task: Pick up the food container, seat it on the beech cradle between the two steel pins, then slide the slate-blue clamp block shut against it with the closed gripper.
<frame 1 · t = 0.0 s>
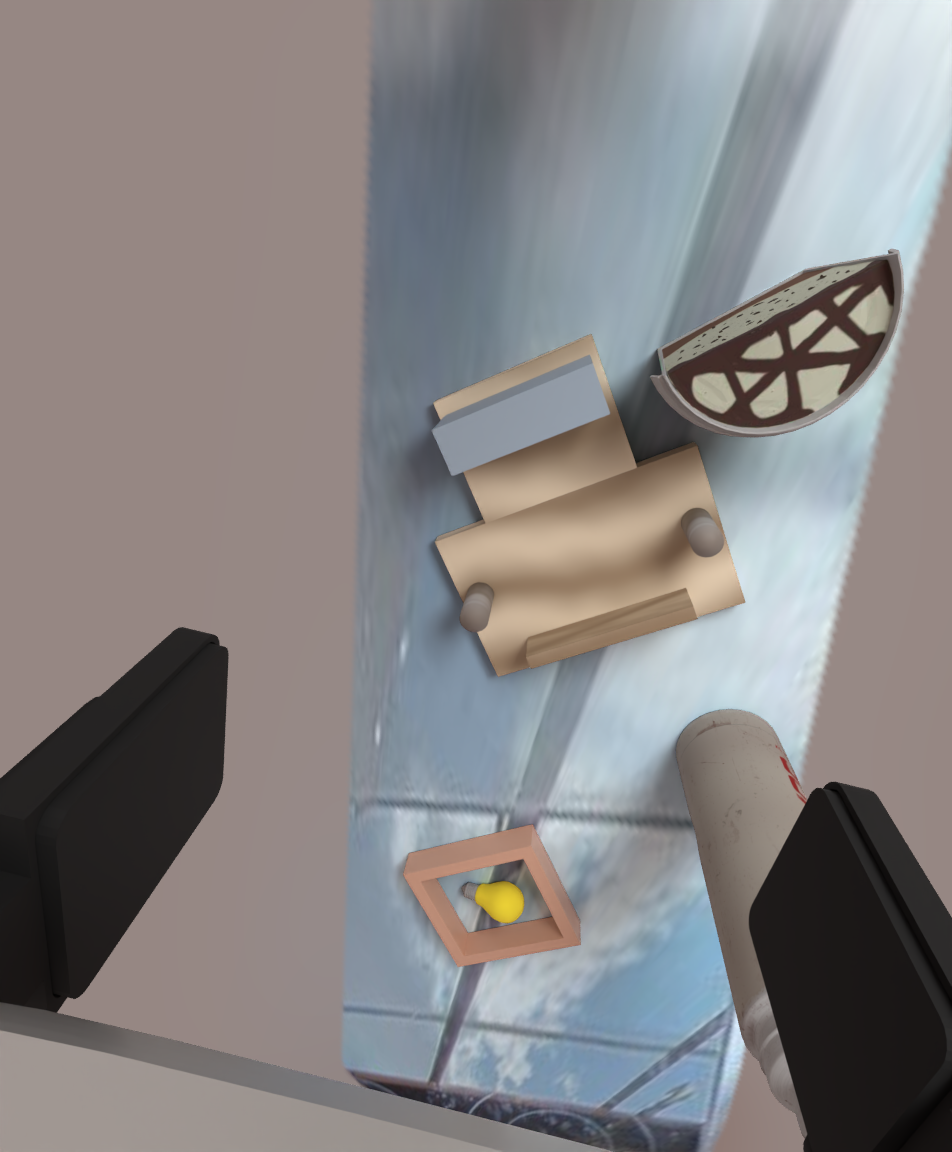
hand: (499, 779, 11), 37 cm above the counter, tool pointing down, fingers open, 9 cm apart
pink square frame: (495, 887, 63), on the counter
light bulb: (494, 884, 63), on the counter
clamp block: (521, 414, 41), point 4 cm above the counter, slide at 0.0 cm
cradle: (583, 553, 48), on the counter
thermos bottle: (726, 748, 54), on the counter
food container: (746, 355, 42), on the counter
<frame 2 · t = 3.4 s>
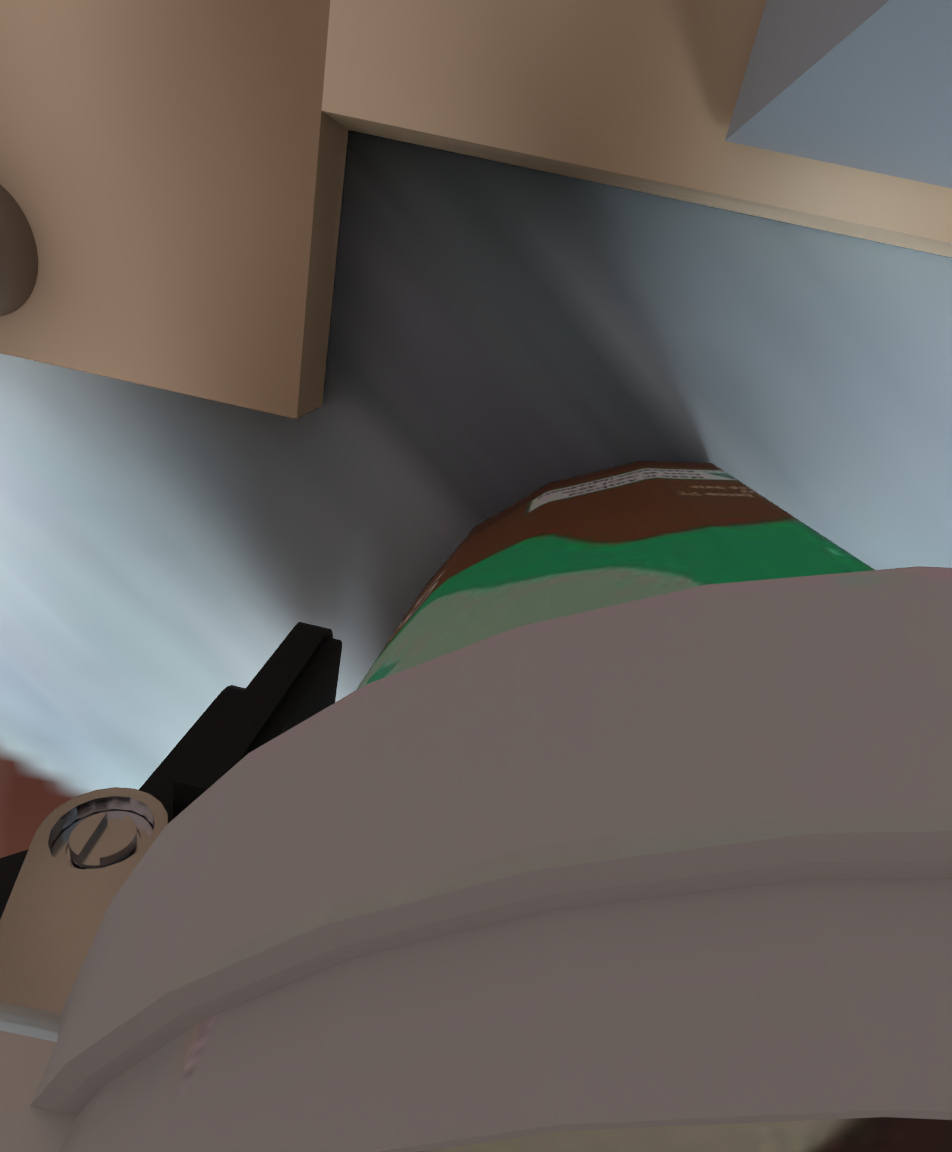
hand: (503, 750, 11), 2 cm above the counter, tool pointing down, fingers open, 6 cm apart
food container: (498, 671, 13), on the counter, touching gripper
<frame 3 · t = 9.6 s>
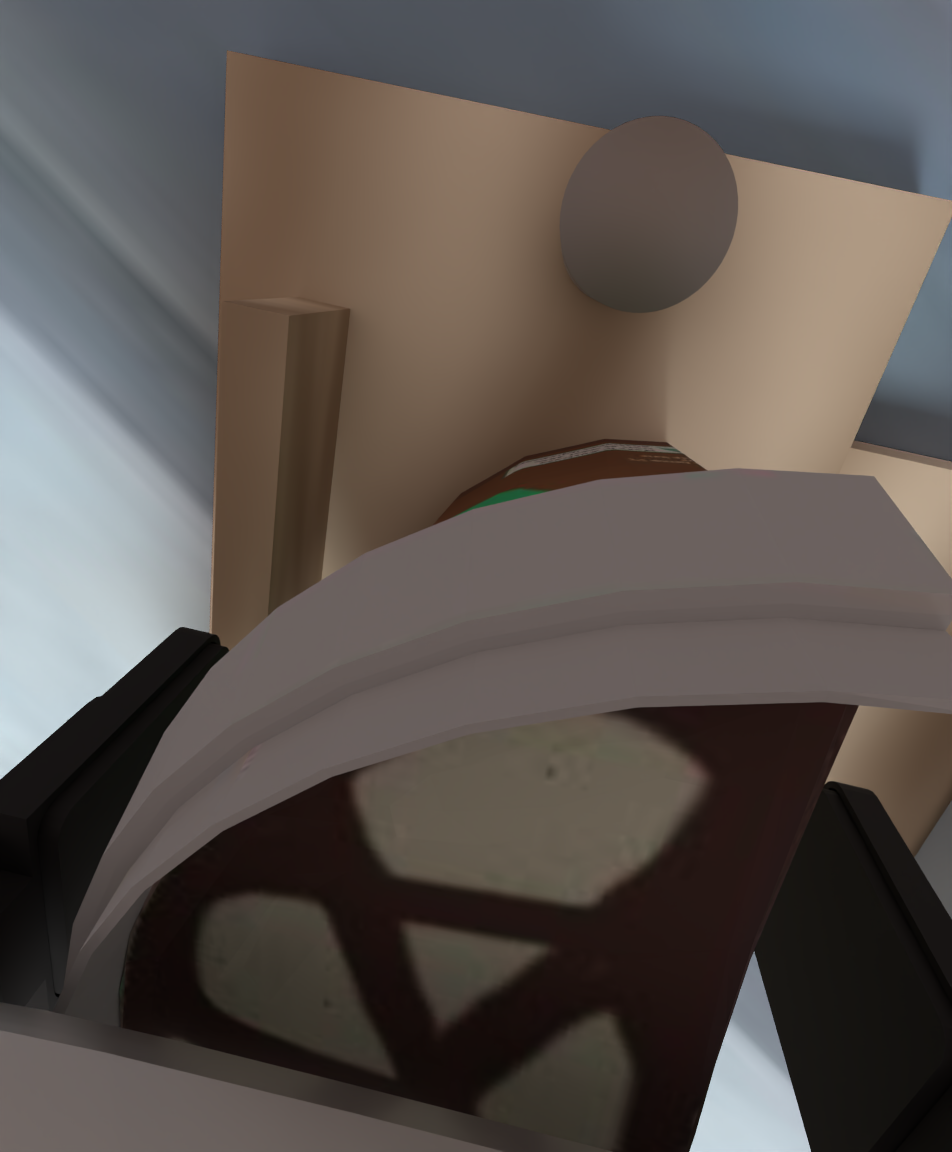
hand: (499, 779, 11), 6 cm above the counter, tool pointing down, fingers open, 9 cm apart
cradle: (521, 616, 16), on the counter
food container: (478, 627, 15), point 1 cm above the counter, touching cradle
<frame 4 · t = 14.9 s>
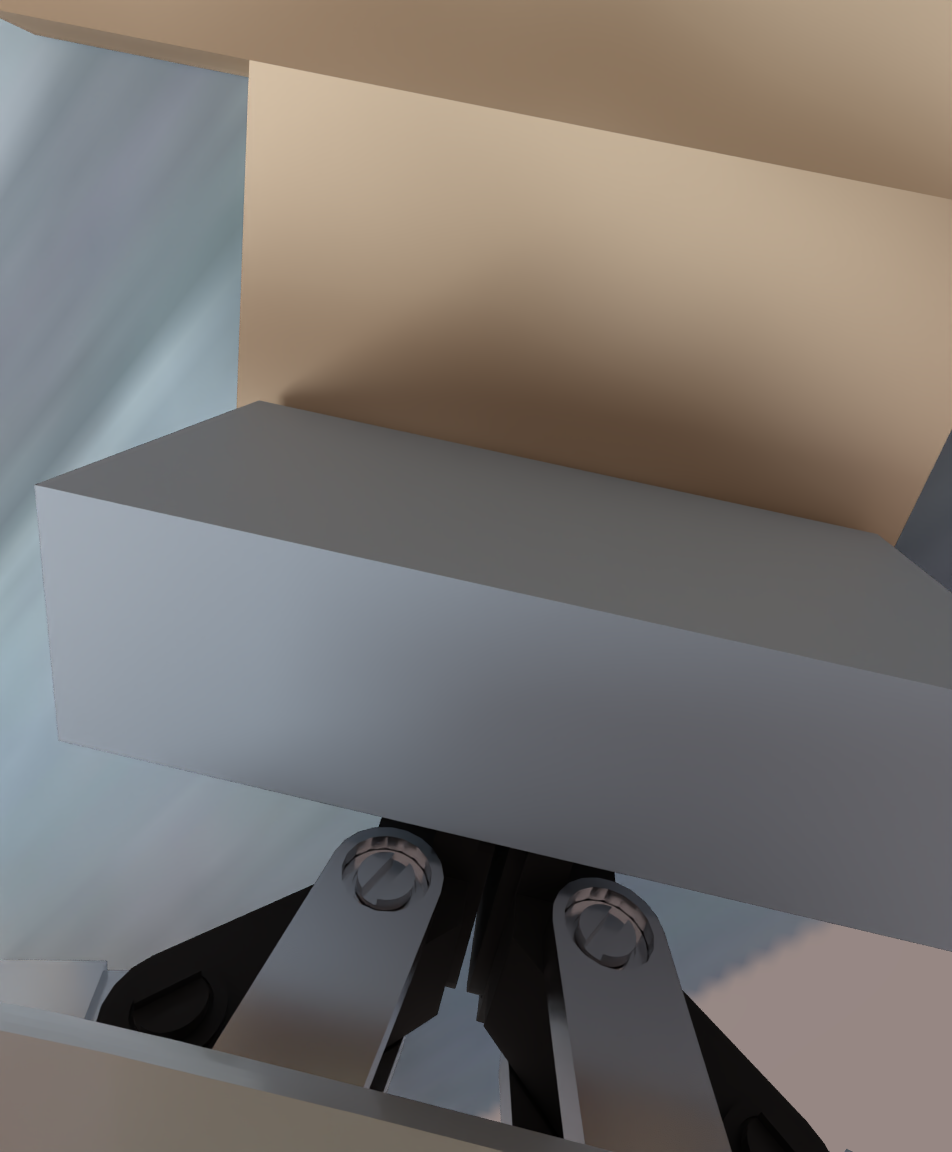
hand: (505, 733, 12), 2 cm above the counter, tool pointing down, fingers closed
clamp block: (536, 620, 9), point 4 cm above the counter, slide at 0.5 cm, touching gripper
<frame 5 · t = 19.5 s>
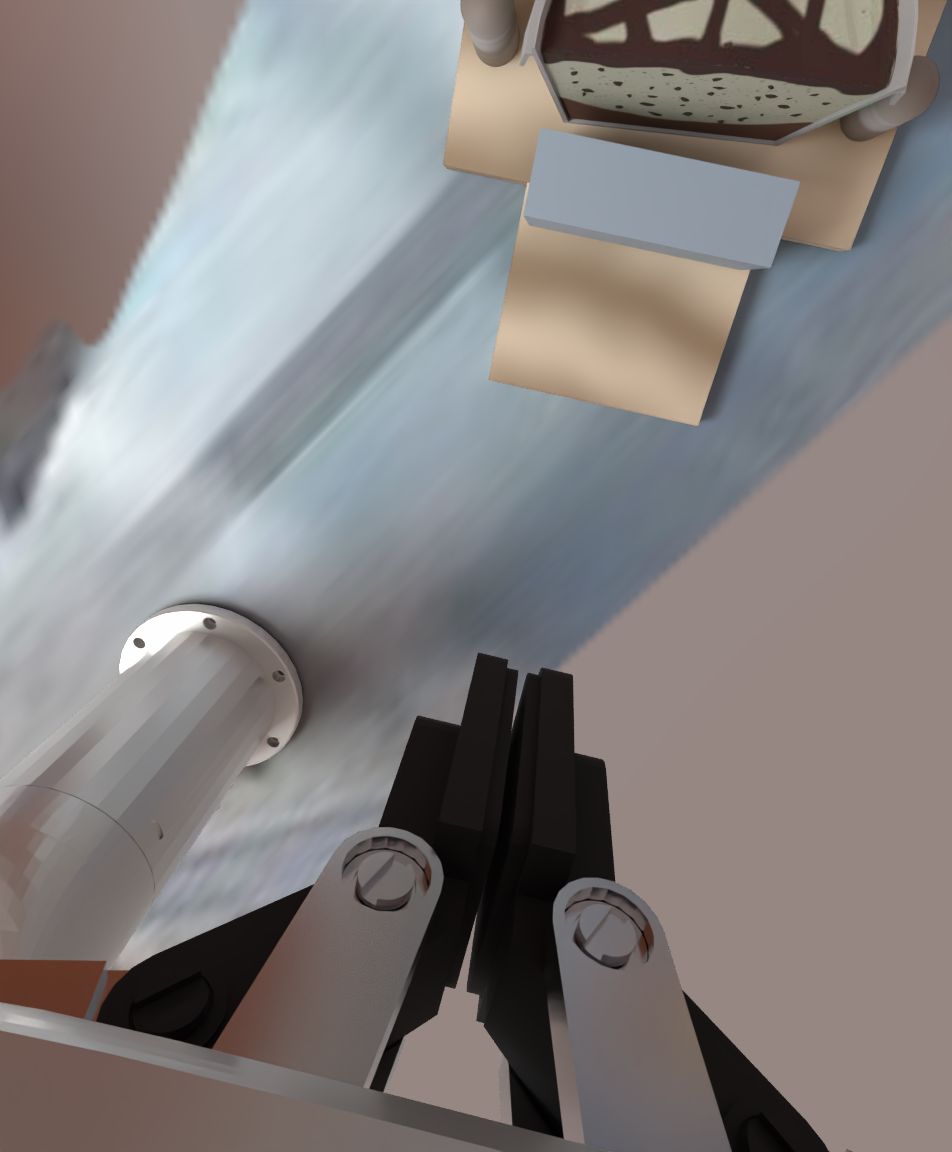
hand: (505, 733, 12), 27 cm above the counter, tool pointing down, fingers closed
clamp block: (650, 205, 28), point 4 cm above the counter, slide at 6.3 cm
cradle: (675, 83, 30), on the counter
food container: (685, 49, 28), point 1 cm above the counter, touching cradle
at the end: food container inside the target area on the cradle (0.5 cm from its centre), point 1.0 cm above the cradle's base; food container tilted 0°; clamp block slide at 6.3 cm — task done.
